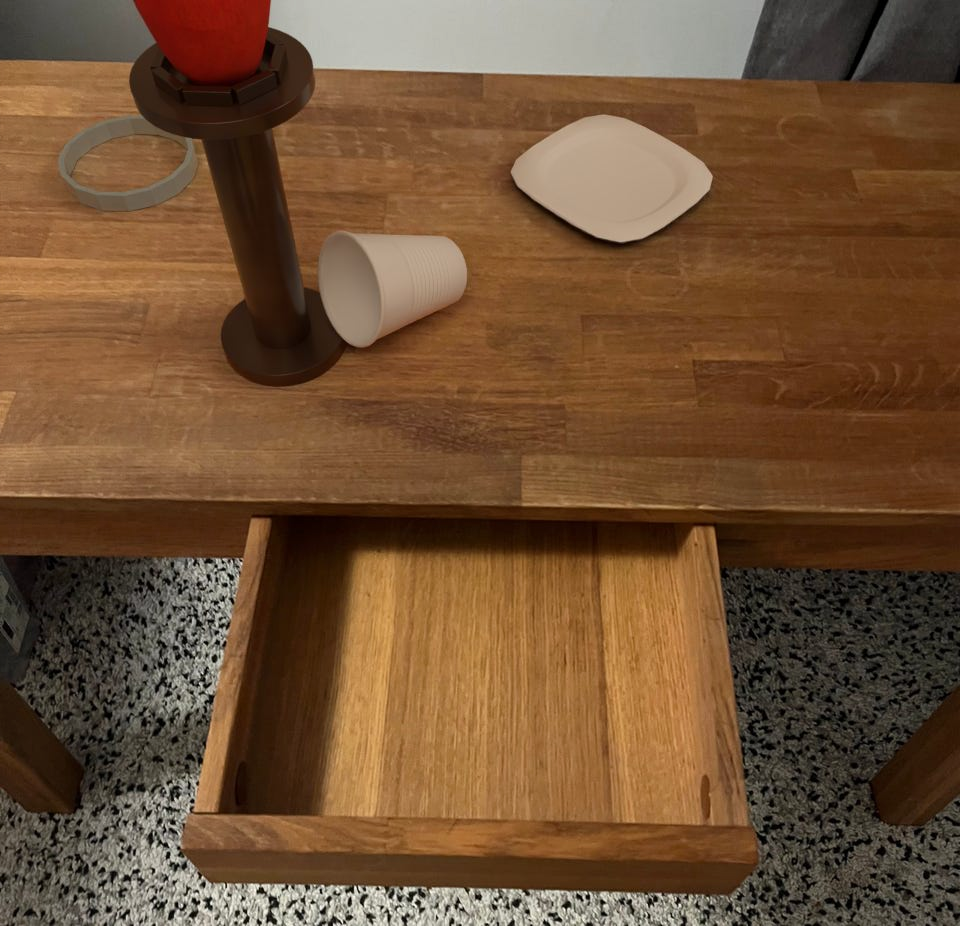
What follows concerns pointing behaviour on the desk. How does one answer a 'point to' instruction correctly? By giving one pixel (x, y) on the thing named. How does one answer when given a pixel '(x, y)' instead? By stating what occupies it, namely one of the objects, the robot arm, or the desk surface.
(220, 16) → the apple
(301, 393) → the desk surface
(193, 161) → the grey faceted ring
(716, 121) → the desk surface
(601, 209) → the plate
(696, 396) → the desk surface
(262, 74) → the holder
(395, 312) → the cup
